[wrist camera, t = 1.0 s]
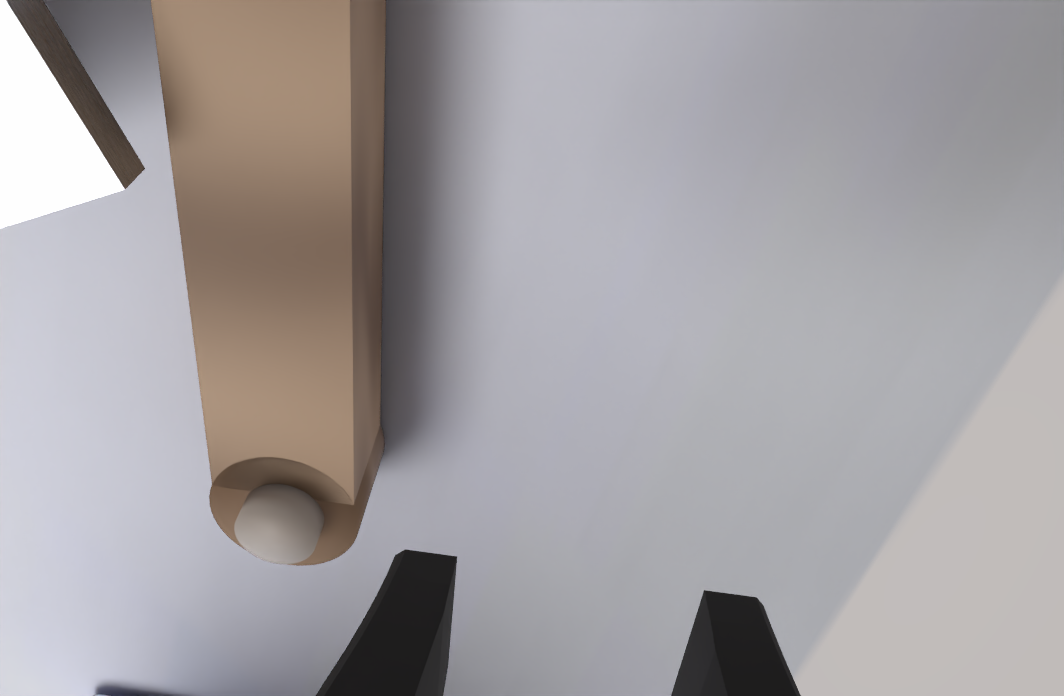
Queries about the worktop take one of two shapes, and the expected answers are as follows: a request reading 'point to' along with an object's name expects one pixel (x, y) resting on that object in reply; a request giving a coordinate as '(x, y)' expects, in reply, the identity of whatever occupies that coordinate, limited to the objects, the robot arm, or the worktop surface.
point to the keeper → (52, 122)
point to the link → (282, 257)
